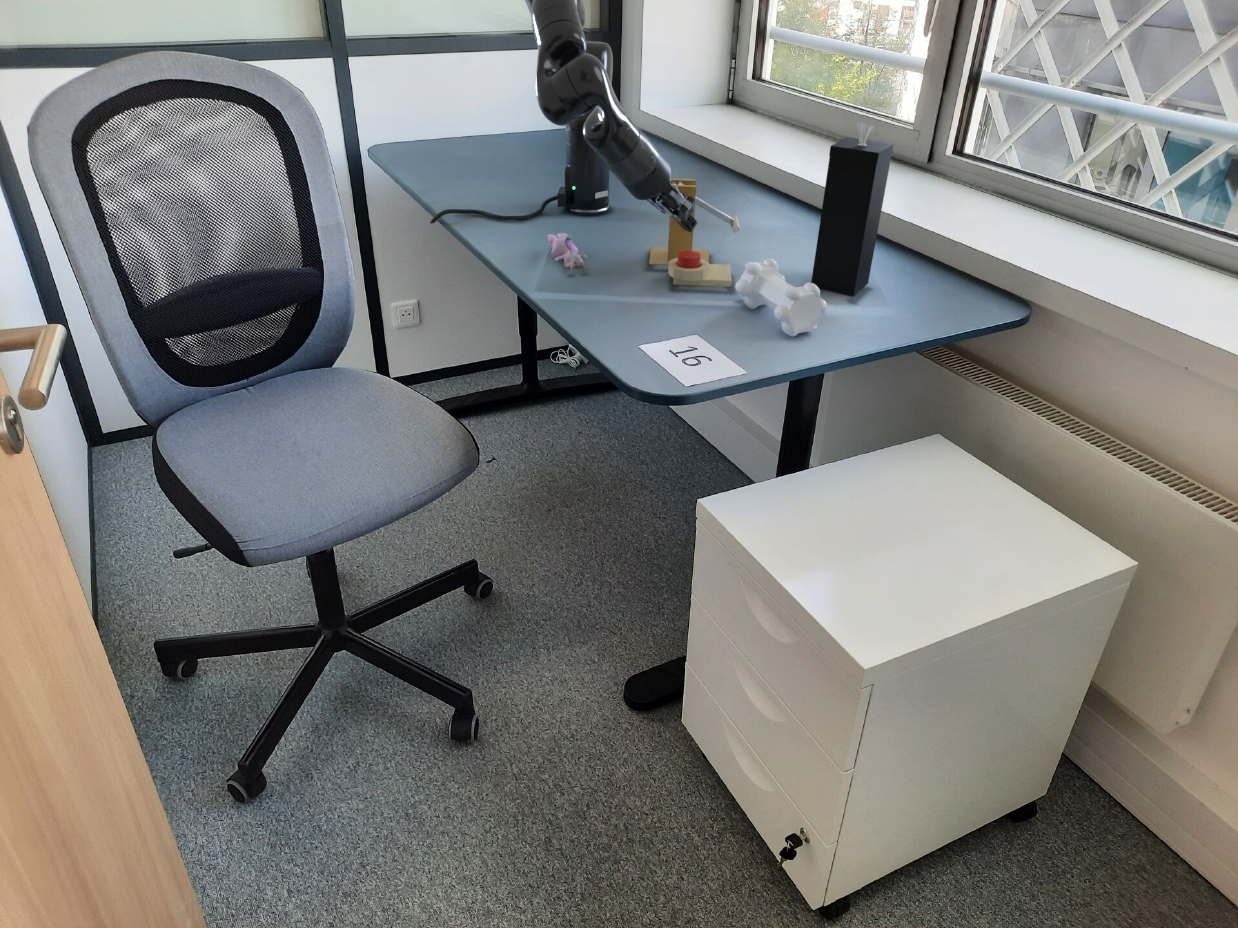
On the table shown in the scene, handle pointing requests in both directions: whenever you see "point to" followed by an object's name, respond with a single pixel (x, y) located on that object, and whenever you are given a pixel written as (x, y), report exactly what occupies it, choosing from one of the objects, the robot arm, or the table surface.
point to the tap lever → (718, 213)
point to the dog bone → (781, 297)
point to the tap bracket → (678, 232)
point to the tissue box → (851, 212)
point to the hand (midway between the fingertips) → (691, 227)
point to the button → (689, 259)
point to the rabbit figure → (566, 250)
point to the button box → (701, 274)
